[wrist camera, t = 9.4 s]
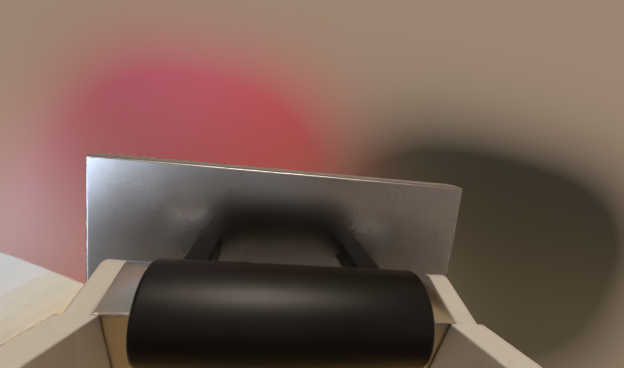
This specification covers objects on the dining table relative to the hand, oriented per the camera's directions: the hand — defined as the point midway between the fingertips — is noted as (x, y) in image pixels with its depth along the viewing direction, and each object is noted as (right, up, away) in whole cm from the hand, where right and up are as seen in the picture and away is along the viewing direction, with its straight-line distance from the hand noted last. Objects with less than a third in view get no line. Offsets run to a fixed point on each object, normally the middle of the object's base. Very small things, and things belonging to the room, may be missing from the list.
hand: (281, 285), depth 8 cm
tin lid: (-1, -4, +3) cm, 6 cm away
